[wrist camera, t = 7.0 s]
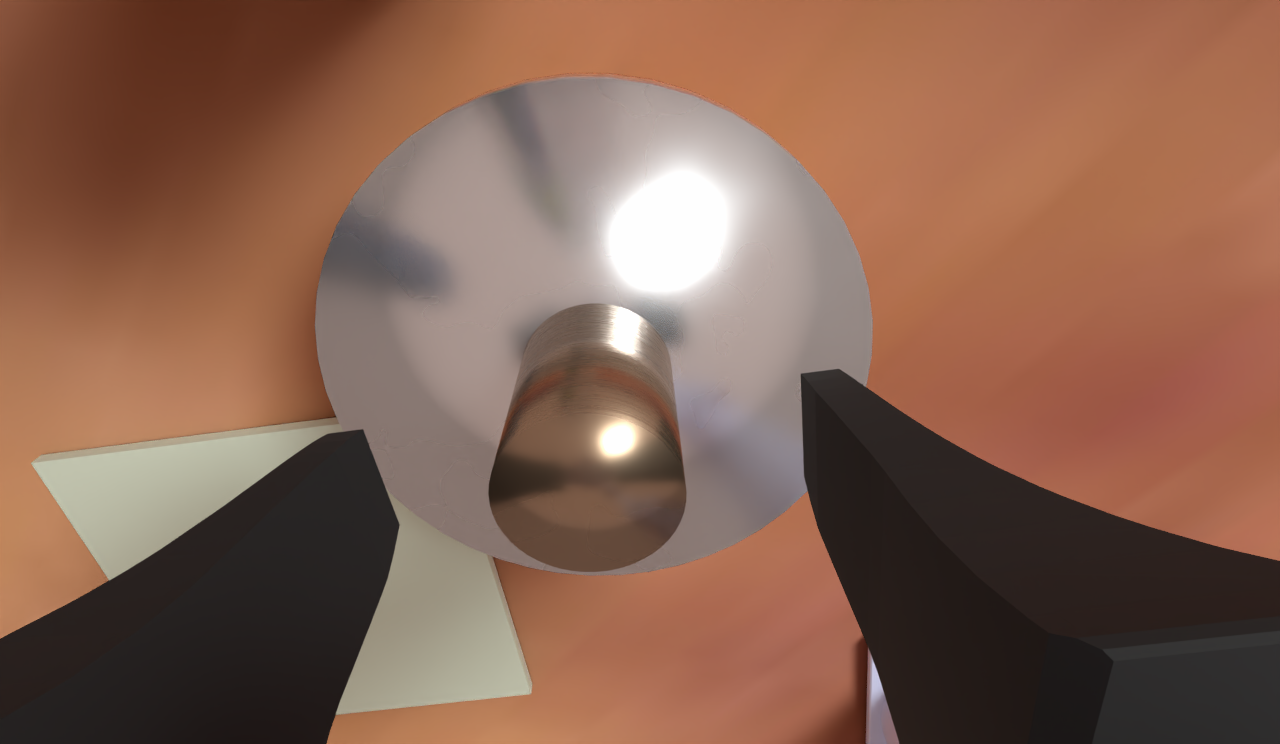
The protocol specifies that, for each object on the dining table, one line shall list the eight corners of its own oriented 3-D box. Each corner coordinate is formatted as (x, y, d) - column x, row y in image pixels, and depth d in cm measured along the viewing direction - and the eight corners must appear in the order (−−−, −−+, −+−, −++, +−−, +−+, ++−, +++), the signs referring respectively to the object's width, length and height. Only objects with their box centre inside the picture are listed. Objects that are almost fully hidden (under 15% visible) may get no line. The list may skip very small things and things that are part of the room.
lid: (842, 537, 18) (910, 712, 13) (399, 565, 18) (328, 746, 14) (885, 49, 12) (1019, 85, 8) (255, 96, 13) (68, 155, 8)
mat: (532, 684, 26) (531, 693, 26) (213, 718, 27) (208, 728, 26) (444, 403, 20) (441, 410, 20) (40, 455, 21) (30, 463, 20)
